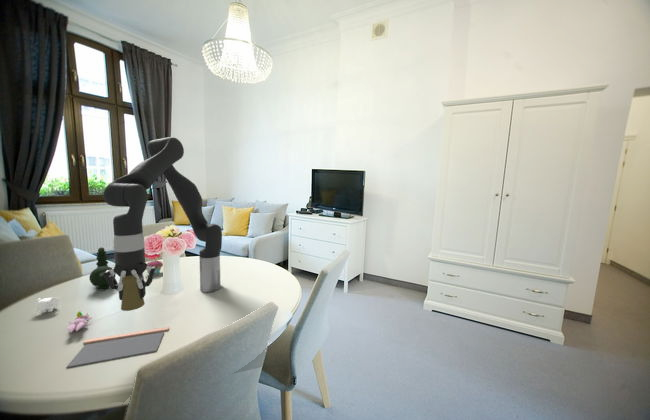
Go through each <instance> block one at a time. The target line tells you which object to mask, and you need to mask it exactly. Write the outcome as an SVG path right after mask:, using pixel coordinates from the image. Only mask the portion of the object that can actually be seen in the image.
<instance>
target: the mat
mask: <svg viewBox="0 0 650 420" xmlns="http://www.w3.org/2000/svg"><path fill="white" fill-rule="evenodd" d="M164 334H165V331H163V332H156V333H150V334H144V335H138V336H131V337H125V338H119V339H113V340H106V341H100V342H94V343H88V344H84V345H83V347H82V348H81V349H80V350H79V352H78V353H77V354H76V355H75V356H74V357H73V359H71V361H69V363H68V364H67V366H66V369H68V368H74V367H80V366H84V365H91V364H96V363H101V362H106V361H107V362H108V361H113V360H117V359H124V358H129V357H134V356H139V355H144V354H146V355H147V354H149V353H156V352H157V351H158V349H159V347H160V344H161V341H162V339H163V337H164Z"/></svg>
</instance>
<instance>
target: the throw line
mask: <svg viewBox="0 0 650 420" xmlns="http://www.w3.org/2000/svg"><path fill="white" fill-rule="evenodd" d="M169 330H170V326H167V327H165V326H163V327H159V328H153V329H146V330H140V331H133V332H128V333H120V334H115V335H114V334H113V335H107V336H106V335H105V336H100V337H94V338H88V339H85V340H84V341H83V343H82V344H83V345H87V344H93V343H100V342H106V341H112V340H118V339H124V338H131V337H137V336H143V335H149V334H155V333H162V332H168V331H169Z"/></svg>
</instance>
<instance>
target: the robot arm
mask: <svg viewBox="0 0 650 420" xmlns="http://www.w3.org/2000/svg"><path fill="white" fill-rule="evenodd" d="M147 151H148V153H149V155H150V157H149V158H146V159H145V160H143V161H141V162H140V163H138V164H137V165H136V166H135V167H134V168H133V169H132V170H131V171H130V172H129V173H128V174H125V175H123V176H121V177H118V178H116V179H115V180H113V181H112V182H109V184H107V186H106V187H105V188H104V190H103V193H102V197H103V199H104V202H105V203H106V204H108V205H109V206H112V207H123V208H124V207H125V208H128V207H129V208H128V211H127V213H122V214H117V215H115V216H114V217H113V220H112V225H113V246H112V247H113V248H112V249H113V254H114V267H113V268H112V270H107V271H106V272H104V273H103V276H104V278H105V280H106V281H107V283H108V285H109V288H110V290H112V291H114V290H116V291H118V299H119V301H122V296H123V286H124V285H123V284H122V281H121V280H122V277H125V276H126V275H133V276H135V277H136V276H137V277H136V278H137V284H138V287H139V289H138V290H139V295H140V299H142V298H145V296H146V287H149V286H150V285H151V284H152V282H153V279H154V277H155V275H156V274H155V272H156V269H157V267H156V266H154V267H150V266H147V262H146V250H145V237H144V232H143V231H144V230H143V218H144V213H145V209H146V205H147V203H148V200H149V199H148V198H149V195H148V190H149V189H150V188H151V187H152V186H153V185H154V184H155V183H156V182H157V180H158V178H159V177H160V176H161V175H163V176H164V178H165V179H166V181H167V183H168V185H169V186H170V188H171V189H172V191H173V194H174V195H175V198H176V199H177V202H178V203H179V205H180V207H181V208H182V210H183V212H184V214H185V216H186V217H187V219H188V221H189V223H190V226H191V228H192V231H193V234H194V235H195V237H196V239H197V240H198V241H200V242H205V245H204V248H201V249H200V250H199V287H200V288H199V290H200V292H202V293H213V292H216V291H220V290H221V249H222V244H223V243H222V242H223V230H222V228H221V226H220V225H218V224H215V223H209V222H208V220H206V218H205V215H204V214H203V197H202V195H201V193H200V192H199V189H198V187H197V186H196V184H195V183H194V182H193V181H191V180H190V179H189V178H187V177H186V176H184V174H181V173H180V172H179V171H178V170H177V169H176V168H175V167H174V164H175V163H176V162H179V160H182V158H183V157H184V154H185V149H184V146H183V144H182V142H181V140H180V139H178V138H176V137H173V136H168V137H163V138H157V139H153V140H150V141H149V142H148V143H147ZM145 271H147V272H146V273H147V274H148V276H147V278H146V281H145V277H144V272H145ZM115 273H116V275H117V276H118V277H119V281H117V278H116V276H115V277H114V275H115ZM140 276H142V277H141V279H140Z"/></svg>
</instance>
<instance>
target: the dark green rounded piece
mask: <svg viewBox="0 0 650 420" xmlns="http://www.w3.org/2000/svg"><path fill="white" fill-rule="evenodd" d="M106 254H107V251H106V249H105V248H104V247H99V248H98V249H97V252H96V255H97V257H95V259H96V260H97V261H96V263H95V265H96V268H94V269H93V270H92V271H91V273H90V274H89V278H88V279H89V282H90V284H91V285H93V286H94V287H97V288H96V289H97V290H98V291H106V290H108V289H109V288H110V287H109V285H108V283H107V281H106V280H105V278H104V276H103V273H104V272H106V271H107V270H112V269H113V267H110V266H109V261H108V260H107V259H108V256H107V255H106ZM116 275H117V274H116V273H115V275H114V277H115V278H116Z"/></svg>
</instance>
